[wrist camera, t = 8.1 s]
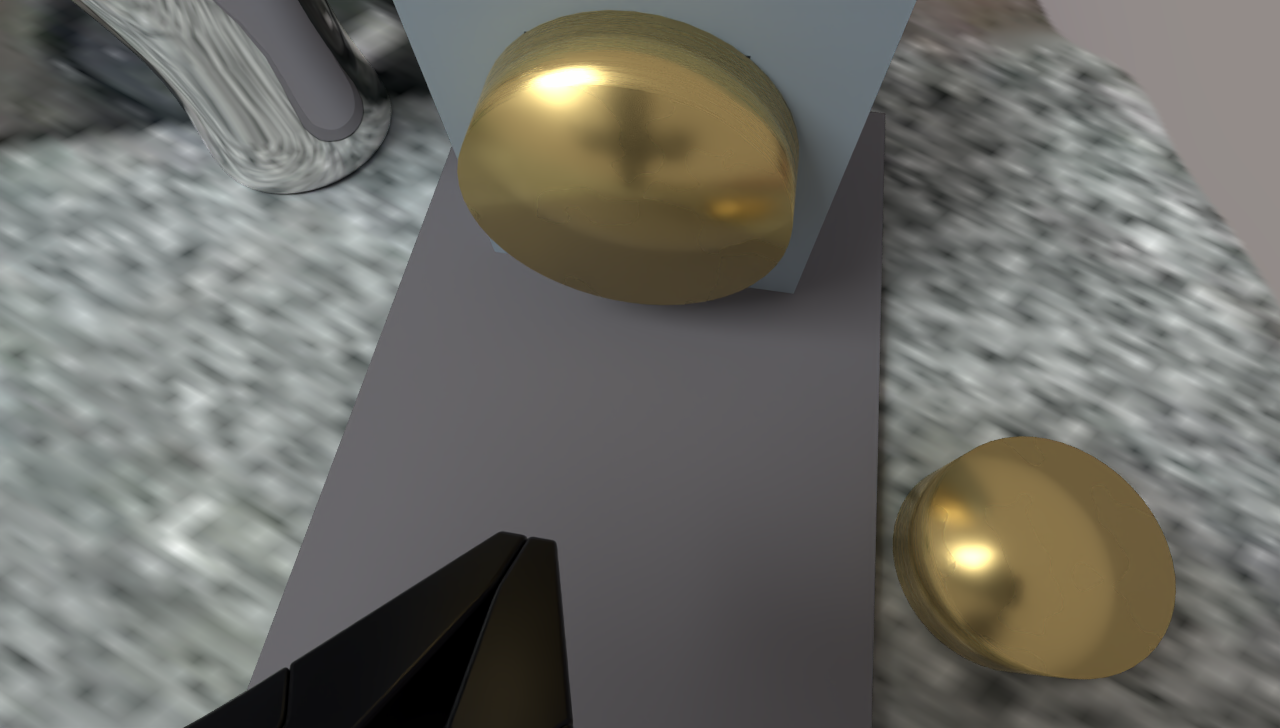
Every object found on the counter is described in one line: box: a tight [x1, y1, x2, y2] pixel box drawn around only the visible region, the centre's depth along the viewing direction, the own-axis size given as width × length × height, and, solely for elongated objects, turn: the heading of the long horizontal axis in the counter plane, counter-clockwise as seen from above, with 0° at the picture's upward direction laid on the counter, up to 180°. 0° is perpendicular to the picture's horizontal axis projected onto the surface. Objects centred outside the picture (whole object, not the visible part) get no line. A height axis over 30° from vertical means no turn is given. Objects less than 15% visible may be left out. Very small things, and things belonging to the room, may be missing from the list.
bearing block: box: [393, 0, 916, 294], centre depth 15 cm, size 7×9×10 cm
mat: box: [247, 112, 885, 728], centre depth 17 cm, size 24×14×1 cm, turn 170°
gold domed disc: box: [893, 437, 1176, 679], centre depth 14 cm, size 5×5×2 cm
